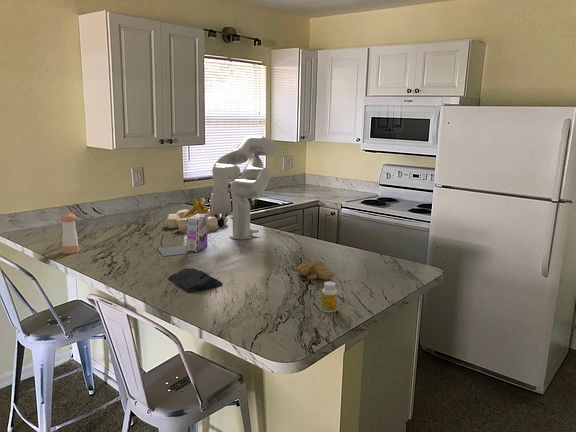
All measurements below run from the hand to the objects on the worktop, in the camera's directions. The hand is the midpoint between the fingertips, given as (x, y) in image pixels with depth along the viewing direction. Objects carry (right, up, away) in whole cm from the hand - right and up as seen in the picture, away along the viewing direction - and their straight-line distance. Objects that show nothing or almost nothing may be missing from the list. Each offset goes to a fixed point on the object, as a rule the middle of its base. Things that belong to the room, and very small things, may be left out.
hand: (220, 226), depth 242 cm
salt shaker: (-70, -12, -11) cm, 72 cm away
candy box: (-11, -11, -3) cm, 16 cm away
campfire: (-20, -1, +44) cm, 49 cm away
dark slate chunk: (-4, -22, -49) cm, 54 cm away
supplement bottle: (+48, -27, -74) cm, 92 cm away
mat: (-21, -12, -7) cm, 25 cm away
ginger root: (+44, -20, -40) cm, 63 cm away
